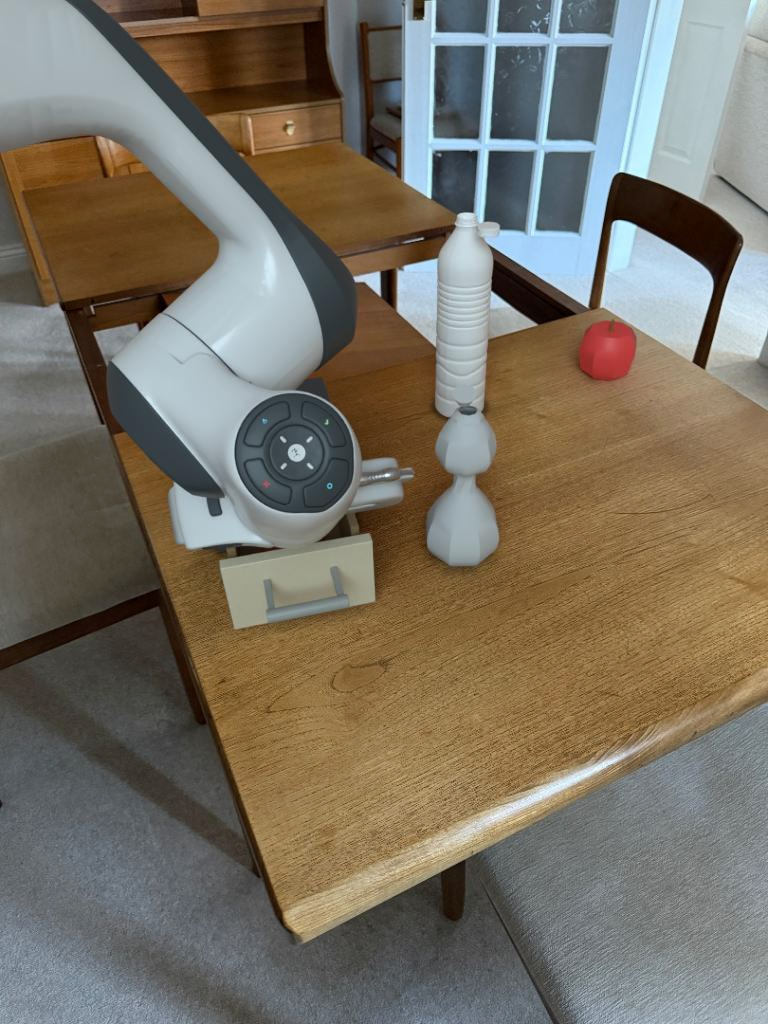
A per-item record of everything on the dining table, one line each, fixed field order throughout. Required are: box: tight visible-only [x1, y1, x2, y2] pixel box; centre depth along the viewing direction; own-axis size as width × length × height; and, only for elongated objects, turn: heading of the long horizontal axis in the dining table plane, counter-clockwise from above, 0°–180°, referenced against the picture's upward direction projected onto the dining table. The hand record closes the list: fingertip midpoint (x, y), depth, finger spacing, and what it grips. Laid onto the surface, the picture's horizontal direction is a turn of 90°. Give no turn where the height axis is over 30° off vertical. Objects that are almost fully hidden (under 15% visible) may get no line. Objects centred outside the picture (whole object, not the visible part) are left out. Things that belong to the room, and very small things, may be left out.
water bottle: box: [434, 212, 501, 418], centre depth 90 cm, size 9×6×25 cm
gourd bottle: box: [425, 385, 500, 568], centre depth 70 cm, size 8×8×20 cm
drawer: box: [218, 513, 377, 630], centre depth 71 cm, size 20×13×8 cm, turn 14°
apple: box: [578, 319, 637, 382], centre depth 102 cm, size 8×8×8 cm
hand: (287, 510), depth 71 cm, fingers closed on cup, 6 cm apart
